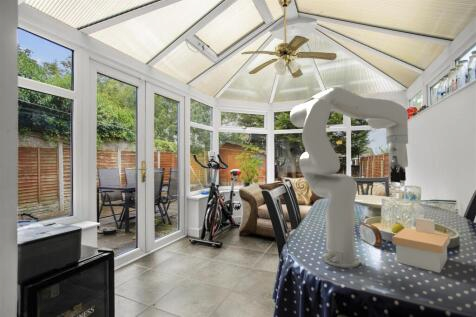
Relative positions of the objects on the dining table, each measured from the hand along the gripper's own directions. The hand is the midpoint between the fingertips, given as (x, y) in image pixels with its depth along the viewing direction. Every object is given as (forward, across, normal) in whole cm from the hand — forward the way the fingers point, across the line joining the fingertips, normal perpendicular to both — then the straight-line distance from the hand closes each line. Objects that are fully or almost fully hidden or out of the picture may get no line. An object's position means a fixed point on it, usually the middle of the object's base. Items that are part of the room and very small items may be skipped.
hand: (398, 181), depth 99 cm
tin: (+28, -1, +11) cm, 30 cm away
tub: (+28, -9, -8) cm, 30 cm away
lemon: (+28, +12, +3) cm, 31 cm away
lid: (+21, -9, -8) cm, 25 cm away
